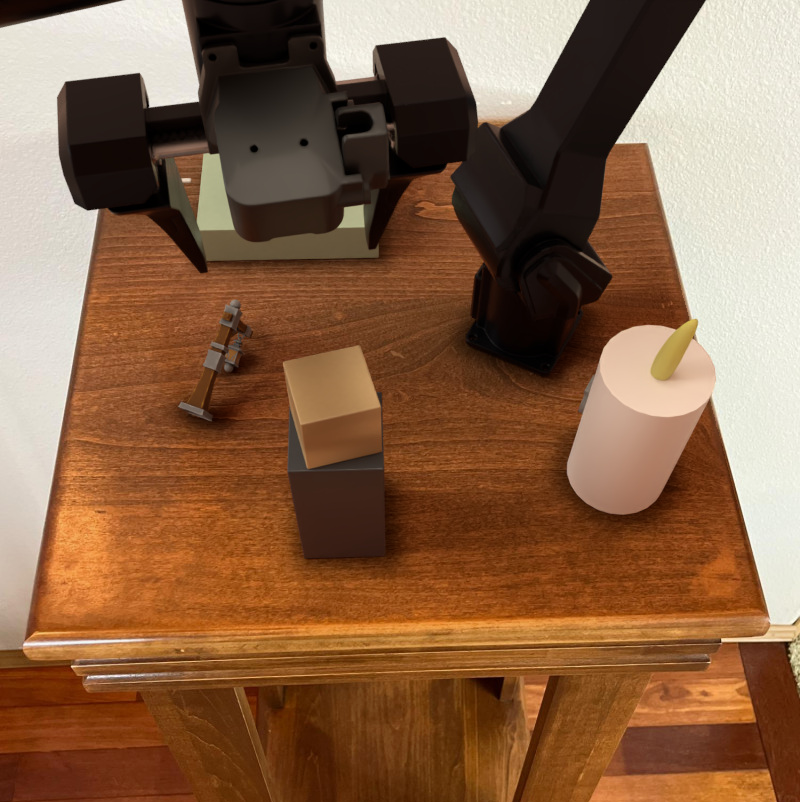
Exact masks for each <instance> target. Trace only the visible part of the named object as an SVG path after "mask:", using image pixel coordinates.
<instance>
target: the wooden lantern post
mask: <svg viewBox="0 0 800 802" xmlns="http://www.w3.org/2000/svg"><path fill="white" fill-rule="evenodd" d="M241 307H242V304H241V301H240V300H238V299H232V300H231V301H230V303H229V304H226V303H225V305H224V310H223V312H222V314H221V318H220V320H219V322H218V324H220V326H219V328H218V331H217V333H216V336H215V339H214V341H211V342H210V344H209V346H210V349H207V354H206V357H205V360H204V362H203V364H202V367H203V370H202V373H201V375H200V377H199V379H198V381H197V383H196V385H195V387H194V390H193V391H192V393H191V395H190V397H189V398H188V400H187V401H186V402H183V401H180V404H179V405H177V408H179V409H180V410H183V411H184V412H185V413H187V414H190V415H193V416H196V417H198V418H201V419H204V420H206V421H210V422H213V417H214V415H213V414H211V413H210V412H209V411H210V404H211V400H212V395H213V392H214V388H215V383H216V380H217V377H218V375H221V373H222V368H223V369H224V371H225V372H227V373H231V372H233V370H234V368H238V369H239V363H240V361H241V356H242V355H243V356H245V355H246V353H245V352H244V351H243V350H242V349H241V348H242V346H244V343H243V341H242V340H243V339H244V338H247V339H248V338H249V339H252V336H253V334H254V330H253V329H252V327H251V326H250V325H249V324H246V323H244V322H243V321H242V320H241V318H242V316H243V314H244V312H243V311H241V310H240V309H241ZM236 335H237V339H233V344H230V342H231V340H232V338H233V337H235V336H236ZM241 335H242V336H241Z"/></svg>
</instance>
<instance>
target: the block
mask: <svg viewBox="0 0 800 802" xmlns="http://www.w3.org/2000/svg"><path fill="white" fill-rule="evenodd" d="M282 366H283V372H284V378H285V383H286V384H285V385H286V390H287V397H288V404H289V403H290V409H291V413H292V416H293V420H294V423H295V427H296V431H297V434H298V438H299V441H300V445H301V448H302V452H303V456H304V459H305V463H306V466H307V468H308V469H311V468H316V467H320V466H324V465H328V464H333V463H337V462H341V461H345V460H350V459H354V458H358V457H362V456H367V455H371V454H375V453H379V452H382V430H381V405H380V402H379V399H378V396H377V393H376V392H377V390H376V387H375V384H374V381H373V378H372V376H371V373H370V369H369V366H368V364H367V361H366V358H365V355H364V352H363V349H362V346H361V345H354V346H348V347H344V348H339V349H336V350H331V351H326V352H321V353H317V354H313V355H307V356H303V357H299V358H293V359H288V360H285V361H283V362H282Z"/></svg>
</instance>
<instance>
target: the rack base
mask: <svg viewBox="0 0 800 802" xmlns="http://www.w3.org/2000/svg"><path fill="white" fill-rule="evenodd" d="M202 155H203V156H202V167H201V168H202V169H201V177H200V187H199V197H198V204H197V205H198V206H197V217H196V221H197V224H198V227H199V230H200V233H201V237H202V241H203V246H204V251H205V255H206V260H207V262H223V261H225V262H226V261H227V262H228V261H229V262H231V261H274V260H280V261H281V260H328V259H378V258H379V257H380V250H379V249H380V243H379V244H378V246H377V248H376V249H373V250H369V249H368V246H367V242H366V237H365V226H364V214H363V205H359V206H351V207H344V217H343V220H342V222H341V224H340V225H339V226H338V227H337V228H336V229H335V230H333V231H331V232H328V233H324V234H313V233H308V234H300V235H293V236H286V237H278V238H273V239H271V240H270V241H266V242H250V241H247V240H245V239H243V238H241V237H240V236H239V235H238V234H237V232H236V230H235V229H234V226H233V222H232V217H231V213H230V209H229V204H228V200H227V195H226V191H225V186H224V180H223V174H222V168H221V162H220V156H219V154H212V155H210V154H209V153H206V154H202ZM181 179H182V182H183V184H191V183H192V178H191V177H185V178H184V177H181Z"/></svg>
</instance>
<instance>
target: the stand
mask: <svg viewBox="0 0 800 802" xmlns="http://www.w3.org/2000/svg"><path fill="white" fill-rule="evenodd" d="M376 393H377V396H378V399H379V402H380V405H381V430H382V452H379V453H375V454H371V455H367V456H362V457H358V458H354V459H350V460H345V461H341V462H337V463H333V464H328V465H324V466H320V467H316V468H311V469H308V468H307V466H306V463H305V459H304V456H303V452H302V448H301V445H300V441H299V438H298V434H297V431H296V427H295V423H294V420H293V416H292V413H291V409H290V403H289V402H288V434H287V435H288V437H287V468H286V470H287V471H286V472H287V477H288V482H289V487H290V493H291V498H292V503H293V507H294V513H295V519H296V524H297V530H298V534H299V539H300V544H301V545H300V546H301V549H302V557H303V559H328V558H329V559H331V558H332V559H334V558H365V557H366V558H369V557H370V558H371V557H385V556H386V499H385V495H386V493H385V492H386V490H385V487H386V485H385V447H384V446H385V445H384V444H385V443H384V418H383V417H384V416H383V415H384V414H383V413H384V412H383V393H382V391H376Z"/></svg>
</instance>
